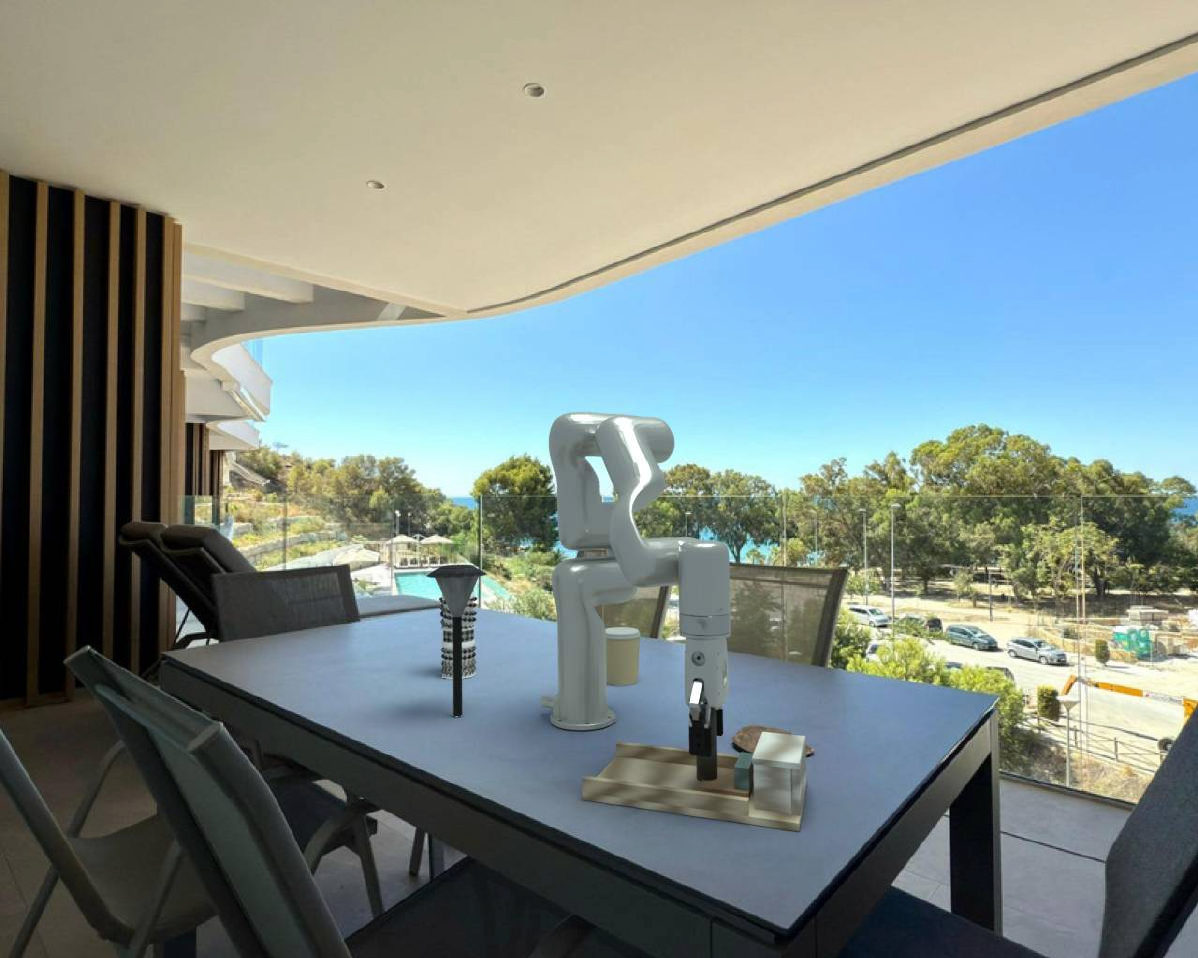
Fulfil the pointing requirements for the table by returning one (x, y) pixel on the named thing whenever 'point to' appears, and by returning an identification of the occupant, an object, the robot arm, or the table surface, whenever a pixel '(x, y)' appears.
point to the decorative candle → (467, 639)
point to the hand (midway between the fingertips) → (706, 743)
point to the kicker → (724, 770)
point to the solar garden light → (457, 613)
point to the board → (673, 783)
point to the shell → (757, 738)
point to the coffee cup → (622, 655)
